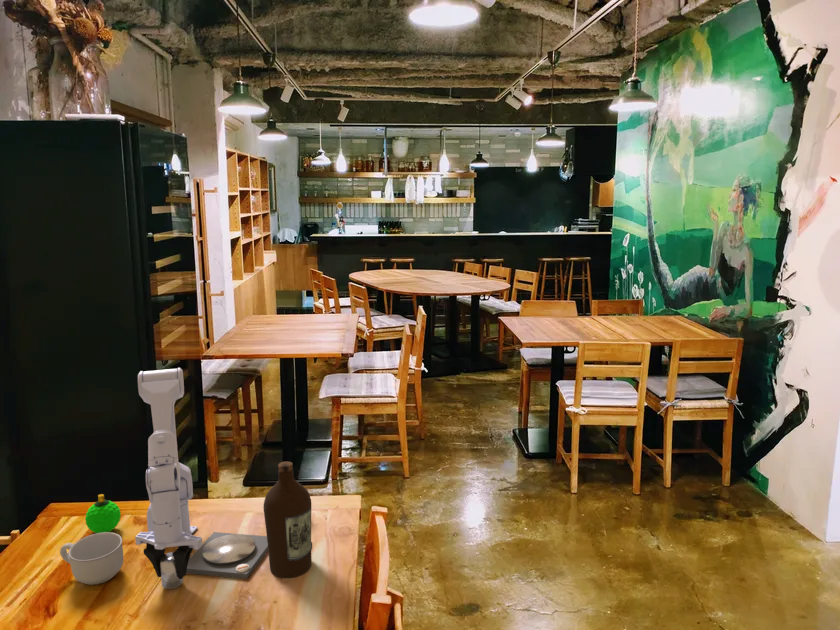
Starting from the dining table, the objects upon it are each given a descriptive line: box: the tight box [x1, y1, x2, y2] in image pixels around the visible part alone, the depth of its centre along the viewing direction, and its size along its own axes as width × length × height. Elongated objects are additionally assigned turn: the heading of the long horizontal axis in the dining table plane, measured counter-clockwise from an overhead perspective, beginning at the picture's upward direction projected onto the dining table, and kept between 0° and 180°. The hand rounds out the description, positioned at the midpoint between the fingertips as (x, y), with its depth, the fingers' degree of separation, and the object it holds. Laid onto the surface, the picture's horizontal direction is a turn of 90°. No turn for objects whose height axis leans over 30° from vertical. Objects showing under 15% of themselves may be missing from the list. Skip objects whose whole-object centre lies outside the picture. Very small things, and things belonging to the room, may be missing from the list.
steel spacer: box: [160, 551, 184, 590], centre depth 139 cm, size 4×4×6 cm
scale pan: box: [202, 533, 255, 564], centre depth 151 cm, size 12×12×1 cm
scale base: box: [186, 531, 268, 580], centre depth 151 cm, size 16×16×2 cm
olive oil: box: [262, 461, 313, 579], centre depth 145 cm, size 11×11×25 cm
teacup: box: [59, 531, 124, 586], centre depth 144 cm, size 14×11×8 cm
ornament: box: [84, 493, 122, 534], centre depth 163 cm, size 8×8×10 cm
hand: (171, 575), depth 140 cm, fingers closed on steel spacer, 4 cm apart
